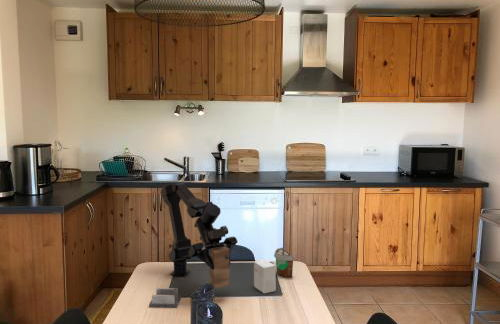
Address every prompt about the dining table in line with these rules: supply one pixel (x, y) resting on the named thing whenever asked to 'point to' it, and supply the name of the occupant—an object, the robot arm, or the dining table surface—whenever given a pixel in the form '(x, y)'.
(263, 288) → the small box
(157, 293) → the hinge base
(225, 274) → the brown wooden block
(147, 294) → the dining table surface
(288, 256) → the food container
